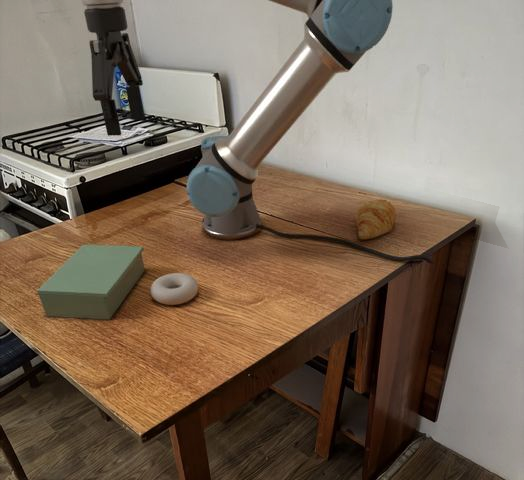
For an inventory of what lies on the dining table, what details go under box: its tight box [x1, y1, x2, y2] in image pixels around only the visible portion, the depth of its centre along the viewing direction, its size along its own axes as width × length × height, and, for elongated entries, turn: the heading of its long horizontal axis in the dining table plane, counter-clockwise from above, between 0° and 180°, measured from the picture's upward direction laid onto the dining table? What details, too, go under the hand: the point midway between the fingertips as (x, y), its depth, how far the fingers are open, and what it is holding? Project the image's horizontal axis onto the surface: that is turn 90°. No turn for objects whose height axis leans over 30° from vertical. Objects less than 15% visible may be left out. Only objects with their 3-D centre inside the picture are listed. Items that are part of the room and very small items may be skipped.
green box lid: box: [36, 244, 145, 297], centre depth 105 cm, size 14×21×1 cm
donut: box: [150, 272, 199, 306], centre depth 105 cm, size 10×4×10 cm
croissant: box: [355, 199, 397, 240], centre depth 127 cm, size 21×10×8 cm, turn 153°
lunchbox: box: [38, 253, 146, 321], centre depth 107 cm, size 14×21×5 cm, turn 171°
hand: (126, 126), depth 107 cm, fingers open, 13 cm apart
